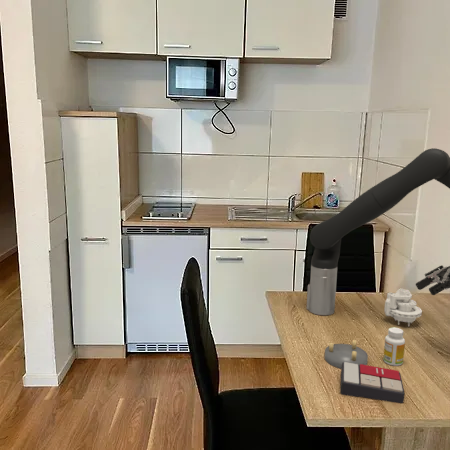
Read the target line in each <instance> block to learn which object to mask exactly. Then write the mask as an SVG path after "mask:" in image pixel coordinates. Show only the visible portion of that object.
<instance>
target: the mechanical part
mask: <svg viewBox="0 0 450 450" xmlns="http://www.w3.org/2000/svg"><path fill="white" fill-rule="evenodd" d="M412 298H413V294H412V292H410V290H409V289H405V288H402V287H401V288H399V289H398V288H397V290H396V291H395V292H390V291H389V292H387V293H386V299H385V301H384V309H383V310H384V314H385V317H391V318H393V319H394V321H395V322H397V325H398V326H400V325H401V322H402V323H403V322H404V323H407V327H410V325H411V324H413V322H414V321H416V320H417V318H420V317H421V316H422V313H423V310H422V309H421V307H419V306H417V301H415V300H414V299H412Z"/></svg>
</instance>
